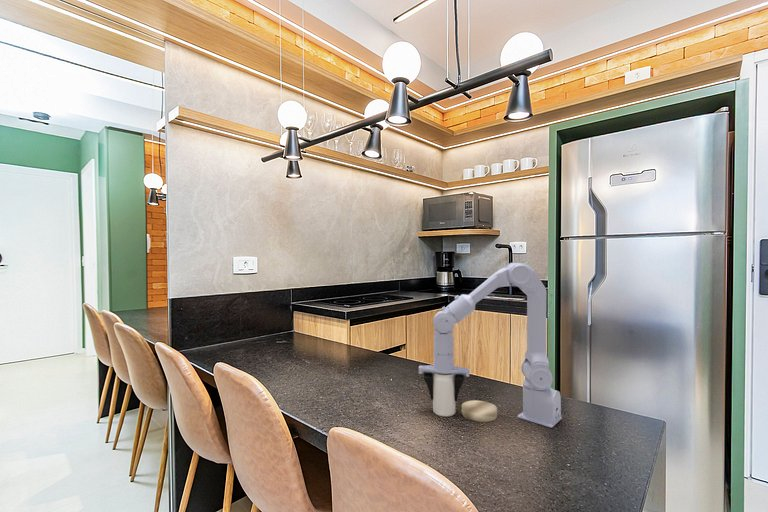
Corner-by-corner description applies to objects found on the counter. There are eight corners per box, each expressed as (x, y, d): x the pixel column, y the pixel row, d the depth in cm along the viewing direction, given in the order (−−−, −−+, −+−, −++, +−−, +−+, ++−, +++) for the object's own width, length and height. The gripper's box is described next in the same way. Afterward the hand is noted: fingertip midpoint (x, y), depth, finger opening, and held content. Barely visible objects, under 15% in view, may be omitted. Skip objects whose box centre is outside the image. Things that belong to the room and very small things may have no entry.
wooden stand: (503, 413, 105) (503, 406, 105) (486, 425, 98) (486, 418, 98) (472, 404, 112) (472, 397, 112) (454, 414, 105) (454, 407, 105)
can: (429, 414, 105) (429, 373, 105) (437, 406, 111) (437, 367, 111) (451, 419, 102) (451, 376, 102) (458, 410, 108) (457, 370, 108)
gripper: (468, 350, 109) (469, 395, 109) (420, 348, 112) (420, 392, 112) (469, 356, 102) (469, 405, 102) (417, 354, 105) (418, 401, 105)
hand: (444, 399), depth 107 cm, fingers closed on can, 6 cm apart
